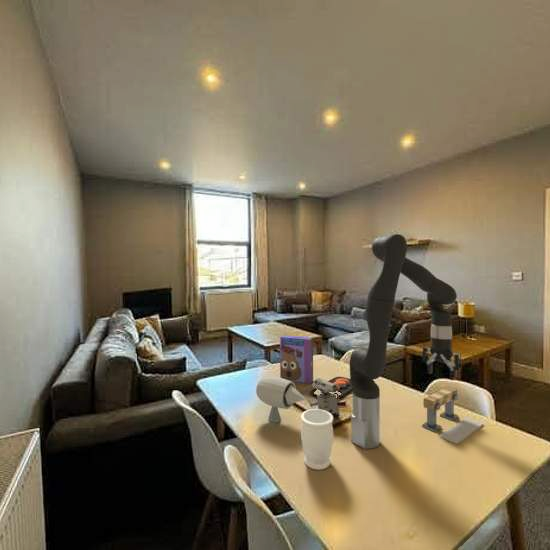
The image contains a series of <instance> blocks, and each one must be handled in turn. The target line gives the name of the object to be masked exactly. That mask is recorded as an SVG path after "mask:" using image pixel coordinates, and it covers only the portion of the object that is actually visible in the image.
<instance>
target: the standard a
mask: <svg viewBox="0 0 550 550" xmlns="http://www.w3.org/2000/svg"><path fill="white" fill-rule="evenodd" d="M439 410H441V407H440V403H438V404H436V409H435V410H434V411H432V410H430V409H427V408H426V421H425V422H424V423H422V424H421V427H422V428H424V429H426V430H428V431H431V432H433V433H436V432H438V431H439V430H441V429H442V425H440V424H438V423H437V411H439Z"/></svg>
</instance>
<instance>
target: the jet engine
mask: <svg viewBox="0 0 550 550" xmlns="http://www.w3.org/2000/svg"><path fill="white" fill-rule="evenodd" d="M255 390H256V392H255V393H256V396H257V398H258V399H259V400H260V401H261V402H263V403H264V404H265V405H268V406H270V407H271V408H270V411H269V414H268V417H267V421H268V422H270V423H279V422H281V421H282V417H281V415H280V411H279V409H282V410H283V409H284V410H289V409H291V407H293V405H294V404H296V403H298V402H302V401H303V400H306V398H305V397H304V396H303V395H302V394H301V393H300V392H299V391H298V390H297V386H296V384H295V382H292V381H289V380H286V379H283V378H280V376H264V377H262V378H261V379H260V380H259V381H258V382H257V385H256V389H255Z"/></svg>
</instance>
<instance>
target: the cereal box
mask: <svg viewBox="0 0 550 550" xmlns="http://www.w3.org/2000/svg"><path fill="white" fill-rule="evenodd" d="M279 363H280V364H279V367H280V368H279V369H280V370H279V378H283V379H286V380H289V381H291V382H293V383H300V384H307V385H312V384H313V382H314V337H308V336H295V335H285V334H284V335H281V336H280V337H279Z"/></svg>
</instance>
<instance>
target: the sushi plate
mask: <svg viewBox="0 0 550 550" xmlns="http://www.w3.org/2000/svg"><path fill="white" fill-rule="evenodd" d="M329 380H330V383H333V384H335V385H337V386H338V390H337V391H338V392H340V393H341V395H339V396H341V397H343V396H350V395H353V392H352V393H349V392H351V391H353V388H352V386H351V382H350V378H348V377H344V376H335V377H333V378H331V379H329ZM329 380H327V381H328V382H329ZM316 390H317V389H315V388H313V389H312V390H310V394H311V395H313V396H315V395H316V394H314V392H315V391H316ZM330 392H331V391H330ZM335 392H336V391H335ZM317 396H318V395H316V396H315V397H317Z"/></svg>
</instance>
